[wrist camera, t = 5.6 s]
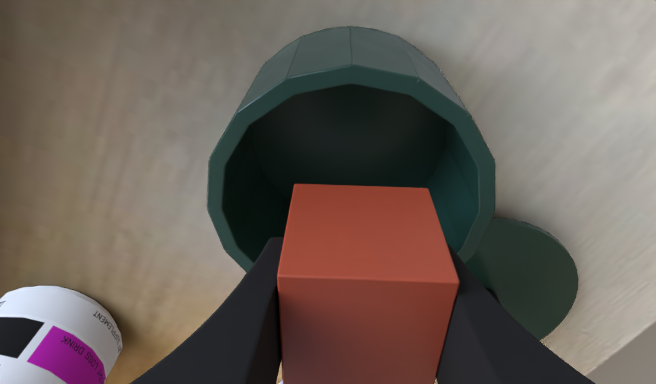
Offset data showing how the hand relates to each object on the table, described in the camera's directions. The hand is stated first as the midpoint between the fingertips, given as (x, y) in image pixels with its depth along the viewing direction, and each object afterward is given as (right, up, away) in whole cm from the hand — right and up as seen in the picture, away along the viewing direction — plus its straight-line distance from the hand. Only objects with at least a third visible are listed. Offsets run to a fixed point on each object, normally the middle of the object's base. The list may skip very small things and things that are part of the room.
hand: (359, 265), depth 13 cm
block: (0, +1, +1) cm, 2 cm away
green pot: (0, +5, +8) cm, 9 cm away
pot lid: (+8, -4, +13) cm, 15 cm away
